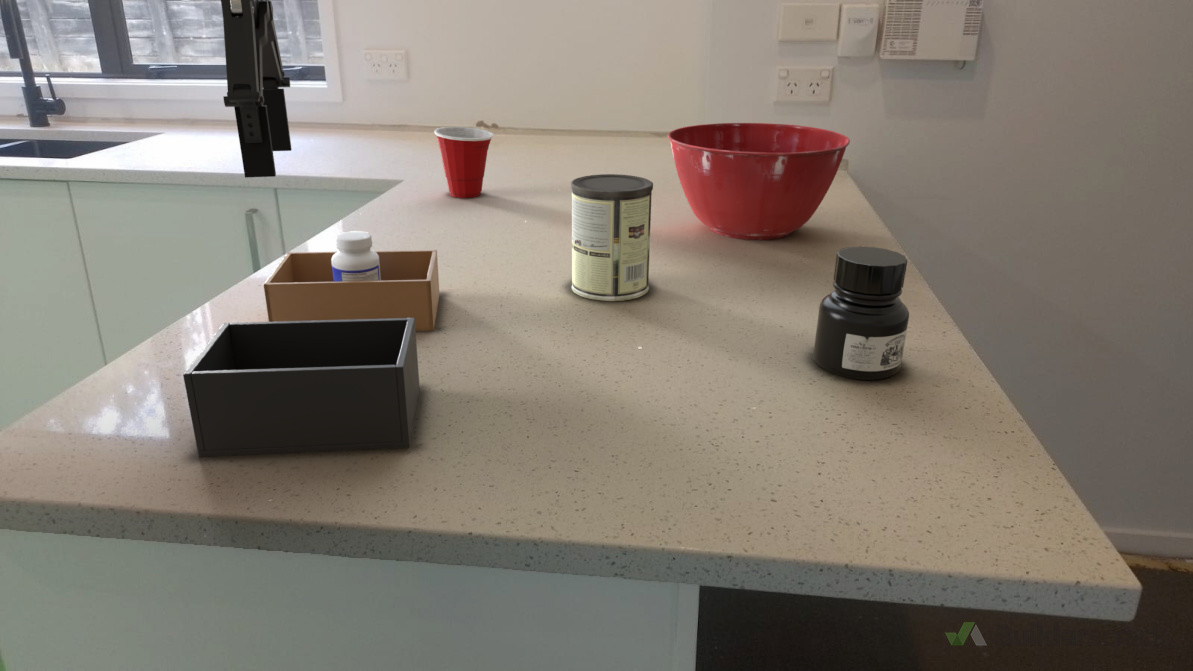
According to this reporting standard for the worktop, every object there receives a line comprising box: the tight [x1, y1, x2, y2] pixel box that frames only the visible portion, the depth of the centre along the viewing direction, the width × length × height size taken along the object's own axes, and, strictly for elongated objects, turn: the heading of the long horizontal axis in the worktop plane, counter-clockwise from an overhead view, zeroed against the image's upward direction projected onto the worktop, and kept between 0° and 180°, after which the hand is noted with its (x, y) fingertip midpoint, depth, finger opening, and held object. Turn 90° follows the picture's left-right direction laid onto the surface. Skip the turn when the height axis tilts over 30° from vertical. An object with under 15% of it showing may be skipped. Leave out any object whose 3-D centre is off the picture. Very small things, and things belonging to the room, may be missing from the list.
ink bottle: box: [813, 245, 910, 381], centre depth 87 cm, size 10×9×12 cm
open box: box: [182, 318, 421, 458], centre depth 74 cm, size 17×11×8 cm, turn 97°
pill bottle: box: [332, 230, 381, 282], centre depth 98 cm, size 5×5×10 cm
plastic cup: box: [433, 126, 495, 199], centre depth 156 cm, size 11×11×12 cm
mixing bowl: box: [667, 122, 851, 241], centre depth 136 cm, size 28×28×16 cm
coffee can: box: [570, 173, 654, 302], centre depth 108 cm, size 10×10×14 cm
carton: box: [263, 249, 440, 332], centre depth 99 cm, size 18×12×6 cm, turn 97°
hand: (270, 162), depth 86 cm, fingers open, 13 cm apart
